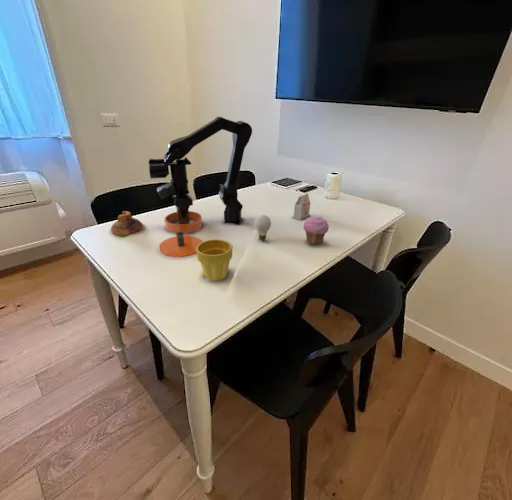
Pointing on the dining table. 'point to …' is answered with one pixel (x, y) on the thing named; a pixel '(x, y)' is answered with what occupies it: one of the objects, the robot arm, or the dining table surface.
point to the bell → (126, 225)
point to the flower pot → (214, 258)
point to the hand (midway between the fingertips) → (183, 215)
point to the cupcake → (315, 229)
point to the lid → (179, 245)
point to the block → (182, 220)
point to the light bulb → (262, 226)
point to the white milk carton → (302, 207)
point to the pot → (183, 227)
